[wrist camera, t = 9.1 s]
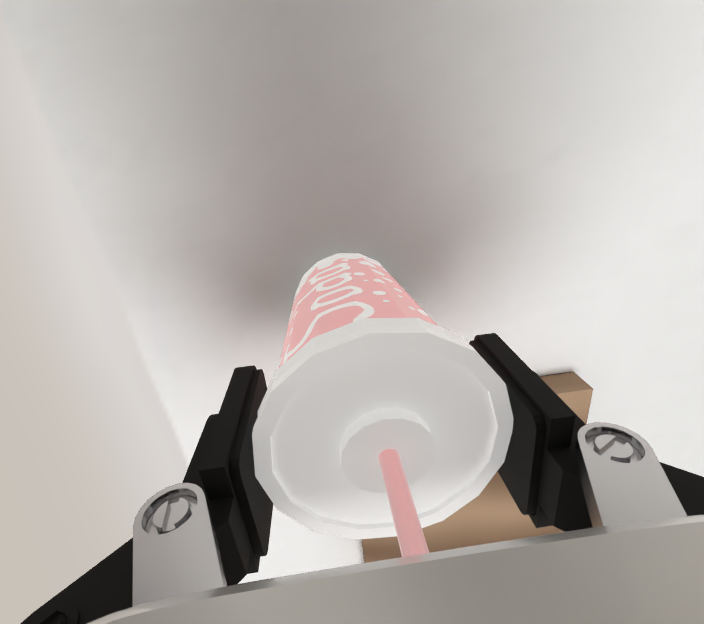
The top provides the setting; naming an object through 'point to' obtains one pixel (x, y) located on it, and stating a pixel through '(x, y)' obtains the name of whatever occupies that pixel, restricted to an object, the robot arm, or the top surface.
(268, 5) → the top surface
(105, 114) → the top surface
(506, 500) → the walnut board
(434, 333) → the beverage cup
